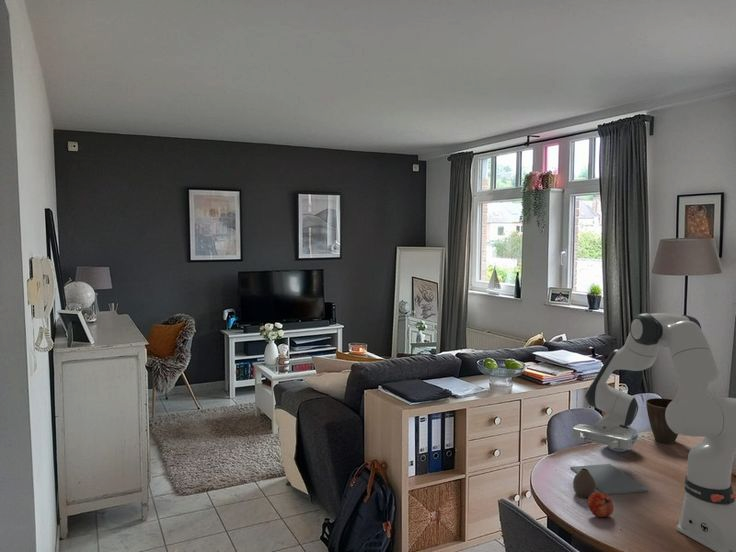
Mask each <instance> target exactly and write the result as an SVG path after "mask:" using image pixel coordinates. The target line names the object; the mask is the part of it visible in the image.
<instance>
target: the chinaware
mask: <svg viewBox="0 0 736 552" xmlns="http://www.w3.org/2000/svg"><path fill="white" fill-rule="evenodd" d="M627 427H629V428H631V429H632V446H633V445H634V444H635V443H636V441H637V440H638V437H639V431H638V429H636V428H633V427H632V426H630V425H629V426H627ZM608 449H609V450H611V451H614V452H619V453H620V452H625V451H627V450H625V449H621V448H617V447H616V448H612V449H610V448H608Z"/></svg>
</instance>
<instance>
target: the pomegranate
mask: <svg viewBox="0 0 736 552" xmlns="http://www.w3.org/2000/svg"><path fill="white" fill-rule="evenodd" d="M587 506H588V509H589V510H590V512H591V515H594V516H595V517H597V518H604V517H605V518H606V517H607V518H609V517H610V516H611V515H612V514H613V512H614V511H615V510H614V504H613V502H612V498H611V497H610V495H606V494H603V493H602V492H600V491H596V492H595V491H594V493H592V494H591V495H590V497H589V498H587Z"/></svg>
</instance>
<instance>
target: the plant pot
mask: <svg viewBox="0 0 736 552" xmlns="http://www.w3.org/2000/svg"><path fill="white" fill-rule="evenodd" d="M672 400H673V399H670V398H661V397H660V398H659V397H657V398H655V397H654V398H648V399H647V400H645V403H646V412H647V416H648V417H647V418H648V423H649V425H650V428H651V429H650V430H651V432H652V435H653V438H654V440H655V441H657V442H659V443H662V444H673V443H675V442H676V441H677V438H678V436H679V434H676V433H674V432H673V431H672V430H671V429H670V428H669V426H668V424H667V422H666V419H665V411H666V408H667V406H668V404H669V403H670V402H671V401H672Z"/></svg>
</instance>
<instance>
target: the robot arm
mask: <svg viewBox="0 0 736 552" xmlns="http://www.w3.org/2000/svg"><path fill="white" fill-rule="evenodd" d="M629 328H630V329H629V333H628V336H627V337H626V340H625V343H624V345H623V346H622V347H620V349H617V348H616V349H614V350H613V351H611V353H610V354H609V355H608V357H607V358H606V360H605V362H604V363H603V365H602V367H601V368H600V370H598V371H599V372H598V373H597V375H596V376H595V378H594V379H593V381H592V382H591V384H589V386H588V387H587V389H586V391H585V394H584V398H585V400H586V402H587V404H588V405H589V406H590V407H593V408H595V409H598V410H600V411H602V412H605V413H606V414H604V416H602V418H600V419H599V420H598V421H597V422H596V423H595V424H594V425H589V424H583V423H579V424H576V425H574V426H573V427H572V428H571V437H572V438H573V439H578V440H579V442H580V443H585V442H590V443H594V444H600V445H604V446H607V448H608V449H609V448H610V449H609V450H611V449H612V448H616V447H617V448H621V449H625V450H626V451H627V450H628V451H630V450H631V449H632V448H633V445H632V429H631V428H629V427H630V426H631V425H632V423H633V422H634V420H635V419H636V416H637V414H638V410H639V405H638V401H637V399H636V397H634V396H633V395H630V394H628V393H626V392H624V391H621V390H619V389H617V388H615V387H612V386H610V385H609V384H608V383H607V382H608V381H609V378H610V377H611V375H612V374H613V372H614V371H616V370H617V371H618V370H624V371H632V372H637V371H638V372H639V371H644V370H647V369H650V368H651V367H652V366H653V365H654V363H655V362H656V360H657V358H658V355H659V353H660V349H661V347H664V348H669V349H668V350H669V353H670V356H671V360H672V363H673V367H674V370H675V374H676V379H677V390H676V394H675V395H674V398H673V399H671V400H672V401H671V402H670V403H669V404H668V406H667V408H666V411H665V419H666V422H667V424H668V426H669V428H670V429H671V430H672V431H673V432H674V433H676V434H678V435H681V436H684V437H685V436H686V437H690V438H691V437H693V438H700V437H702V438H703V439H702V440H701V441H700V442H699V443H698V444H697V445H695V446H693V447H692V448H691V449H690V450H689V452H688V455H687V469H686V470H687V471H686V473H687V474H686V476H685V477H684V479H685V480H684V491H685V494H684V497H683V501H682V504H681V508H680V509H681V511H680V516H679V518H678V523H677V525H676V531H677V532H680V533H681V534H683V535H685V536H687V537H688V538H691V539H692V540H694V541H696V542H697V543H699V544H700V545H703V546H704V547H707V548H708V549H710V550H712V551H714V552H736V493H734V489H733V486H732V483H731V481H732V469H733V461H734V458H735V455H736V397H734V398H733V397H710V396H709V392H708V391H709V390H708V388H709V387H711V386H712V385H713V384H715V383H716V382H717V381H718V378H719V369H718V367H717V363H716V361H715V358H714V355H713V352H712V349H711V347H710V344H709V342H708V340H707V338H706V336H705V334H704V332H703V330H702V325H701V324H700V322H699V320H698V319H697V318H696V317H694V316H691V315H687V314H682V315H681V314H673V313H666V312H655V313H649V312H647V313H646V312H645V313H640V314H636V315H635V316H634V317H633V319H632V320H631V322H630V327H629ZM627 426H629V427H627Z"/></svg>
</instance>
